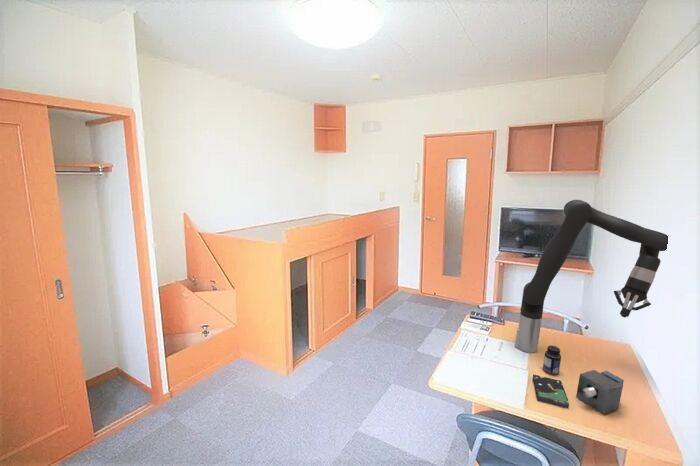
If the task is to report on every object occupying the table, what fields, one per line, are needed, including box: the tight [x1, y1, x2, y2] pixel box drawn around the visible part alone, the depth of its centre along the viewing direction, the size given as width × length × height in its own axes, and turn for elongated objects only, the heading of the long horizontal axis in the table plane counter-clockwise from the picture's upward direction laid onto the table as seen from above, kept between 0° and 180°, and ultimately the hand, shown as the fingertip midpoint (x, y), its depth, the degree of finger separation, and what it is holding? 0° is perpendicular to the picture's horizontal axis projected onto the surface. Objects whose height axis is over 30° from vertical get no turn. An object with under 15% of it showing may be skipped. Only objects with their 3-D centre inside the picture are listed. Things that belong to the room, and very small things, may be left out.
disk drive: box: [532, 374, 570, 409], centre depth 128 cm, size 10×3×15 cm
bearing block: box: [575, 369, 624, 416], centre depth 122 cm, size 8×10×10 cm
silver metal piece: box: [582, 370, 625, 398], centre depth 122 cm, size 15×6×9 cm, turn 111°
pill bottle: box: [542, 344, 562, 376], centre depth 141 cm, size 6×6×11 cm
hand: (623, 316), depth 138 cm, fingers closed
